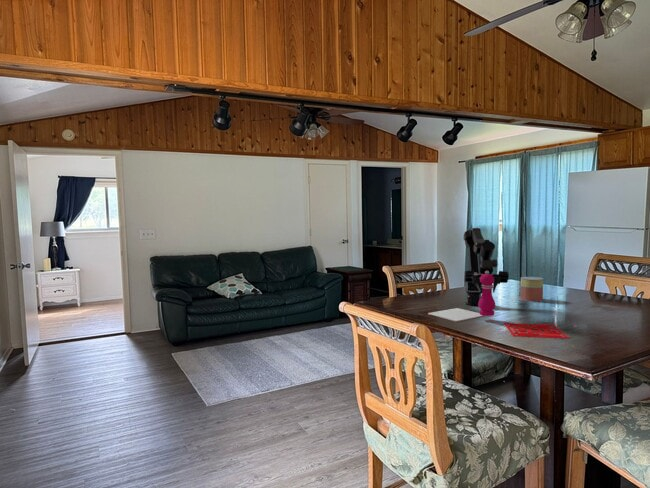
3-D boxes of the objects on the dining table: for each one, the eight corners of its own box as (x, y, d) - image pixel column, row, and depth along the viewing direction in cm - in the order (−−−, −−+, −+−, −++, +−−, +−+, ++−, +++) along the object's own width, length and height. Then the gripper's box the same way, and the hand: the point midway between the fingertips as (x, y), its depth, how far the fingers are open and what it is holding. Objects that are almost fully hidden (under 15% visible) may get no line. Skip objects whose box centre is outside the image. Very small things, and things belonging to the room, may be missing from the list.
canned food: (544, 298, 239) (544, 277, 239) (541, 302, 230) (542, 280, 229) (521, 297, 245) (522, 276, 245) (518, 300, 236) (519, 278, 235)
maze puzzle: (554, 326, 184) (554, 324, 184) (569, 339, 165) (569, 338, 165) (504, 324, 189) (504, 323, 188) (513, 337, 169) (513, 335, 169)
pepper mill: (495, 313, 197) (495, 269, 195) (495, 316, 190) (496, 271, 188) (478, 312, 199) (478, 269, 198) (478, 315, 192) (478, 271, 191)
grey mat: (457, 308, 219) (457, 308, 219) (486, 315, 203) (486, 314, 203) (427, 314, 209) (427, 313, 209) (456, 321, 193) (456, 320, 193)
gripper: (464, 253, 199) (466, 280, 189) (508, 253, 194) (512, 281, 184) (463, 267, 207) (465, 295, 197) (505, 268, 202) (509, 296, 192)
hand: (487, 291), depth 192 cm, fingers closed on pepper mill, 5 cm apart
